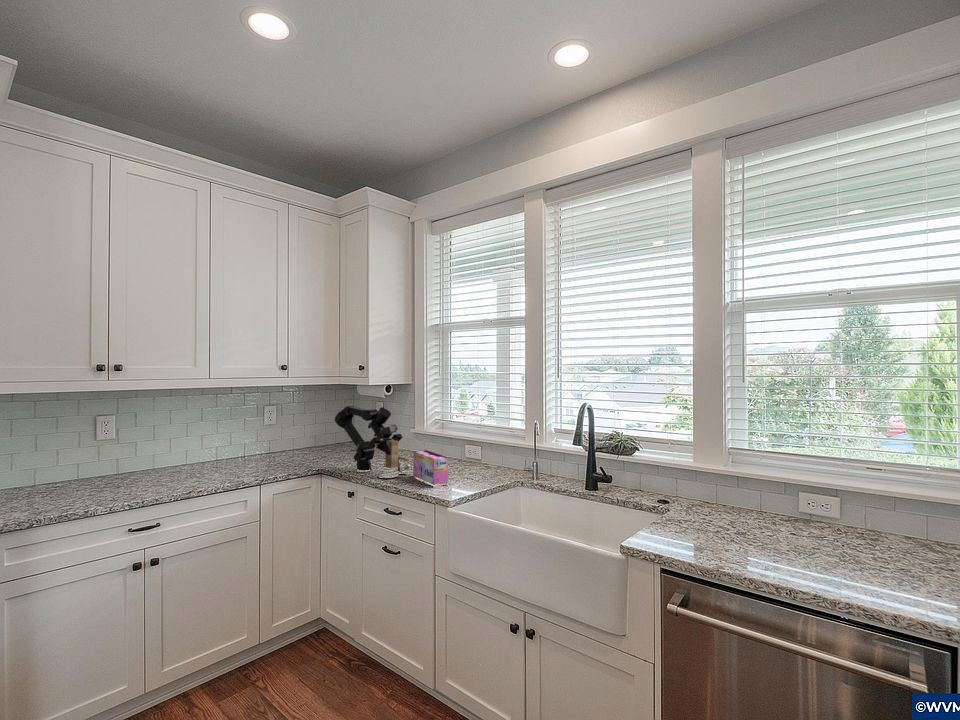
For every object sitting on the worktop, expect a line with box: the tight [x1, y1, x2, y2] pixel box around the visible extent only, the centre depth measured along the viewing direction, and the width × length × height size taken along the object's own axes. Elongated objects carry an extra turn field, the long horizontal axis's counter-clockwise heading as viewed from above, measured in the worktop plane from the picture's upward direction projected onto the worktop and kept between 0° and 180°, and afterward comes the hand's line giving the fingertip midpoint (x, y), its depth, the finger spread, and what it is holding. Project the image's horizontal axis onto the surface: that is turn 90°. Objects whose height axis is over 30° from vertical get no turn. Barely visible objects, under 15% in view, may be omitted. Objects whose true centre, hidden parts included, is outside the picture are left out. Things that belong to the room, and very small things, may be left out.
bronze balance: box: [397, 455, 413, 471], centre depth 254 cm, size 14×4×10 cm, turn 82°
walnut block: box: [384, 440, 399, 469], centre depth 246 cm, size 4×4×13 cm
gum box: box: [412, 449, 449, 485], centre depth 239 cm, size 24×8×14 cm, turn 33°
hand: (393, 454), depth 245 cm, fingers closed on walnut block, 4 cm apart
